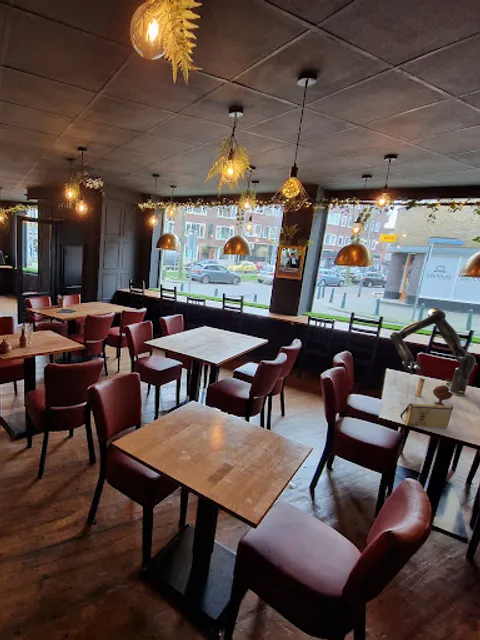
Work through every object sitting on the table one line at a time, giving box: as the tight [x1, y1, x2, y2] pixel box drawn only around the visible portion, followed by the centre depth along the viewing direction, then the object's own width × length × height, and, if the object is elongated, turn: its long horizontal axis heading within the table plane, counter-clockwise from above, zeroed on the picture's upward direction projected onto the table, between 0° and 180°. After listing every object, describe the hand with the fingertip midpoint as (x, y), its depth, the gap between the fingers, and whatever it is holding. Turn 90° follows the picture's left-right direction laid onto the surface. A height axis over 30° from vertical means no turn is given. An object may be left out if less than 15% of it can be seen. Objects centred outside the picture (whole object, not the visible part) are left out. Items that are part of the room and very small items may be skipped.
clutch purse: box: [399, 403, 454, 429], centre depth 211 cm, size 30×7×15 cm, turn 92°
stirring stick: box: [415, 377, 426, 398], centre depth 258 cm, size 3×3×14 cm
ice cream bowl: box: [432, 384, 453, 405], centre depth 245 cm, size 11×11×15 cm
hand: (416, 374), depth 260 cm, fingers open, 8 cm apart
